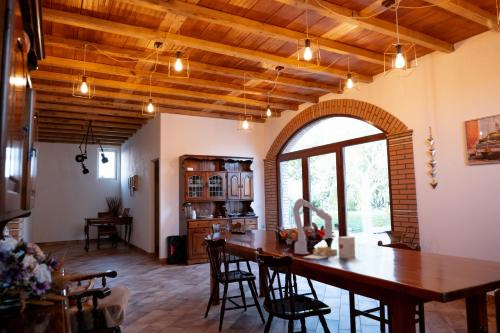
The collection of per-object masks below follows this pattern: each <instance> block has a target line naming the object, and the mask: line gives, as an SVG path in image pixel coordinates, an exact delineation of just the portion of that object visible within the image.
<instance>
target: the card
mask: <svg viewBox="0 0 500 333" xmlns="http://www.w3.org/2000/svg"><path fill="white" fill-rule="evenodd" d="M316 249H317V250H324V251H329V250H331V249H332V246H331V247H327V246H323V245H322V246H316Z"/></svg>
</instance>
